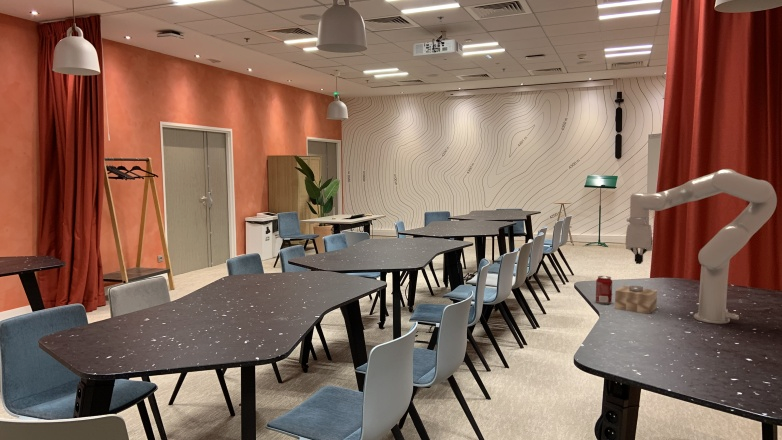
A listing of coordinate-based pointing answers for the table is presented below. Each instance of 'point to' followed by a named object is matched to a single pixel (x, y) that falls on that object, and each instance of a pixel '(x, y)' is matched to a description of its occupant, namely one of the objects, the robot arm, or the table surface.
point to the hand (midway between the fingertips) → (638, 263)
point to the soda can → (604, 290)
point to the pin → (636, 288)
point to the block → (636, 300)
